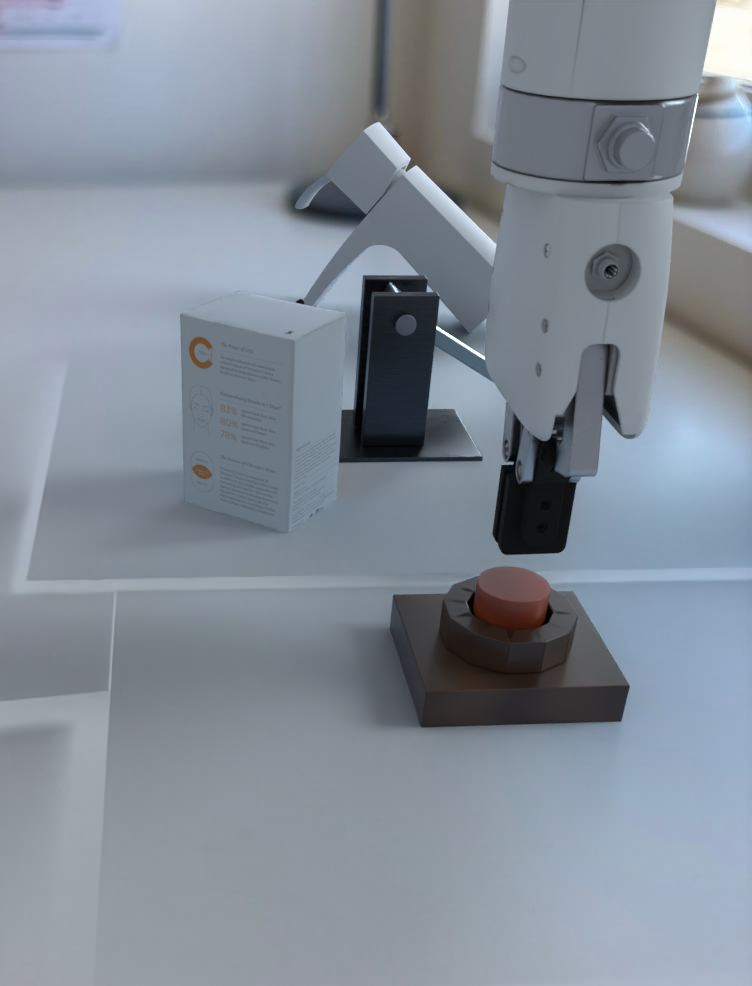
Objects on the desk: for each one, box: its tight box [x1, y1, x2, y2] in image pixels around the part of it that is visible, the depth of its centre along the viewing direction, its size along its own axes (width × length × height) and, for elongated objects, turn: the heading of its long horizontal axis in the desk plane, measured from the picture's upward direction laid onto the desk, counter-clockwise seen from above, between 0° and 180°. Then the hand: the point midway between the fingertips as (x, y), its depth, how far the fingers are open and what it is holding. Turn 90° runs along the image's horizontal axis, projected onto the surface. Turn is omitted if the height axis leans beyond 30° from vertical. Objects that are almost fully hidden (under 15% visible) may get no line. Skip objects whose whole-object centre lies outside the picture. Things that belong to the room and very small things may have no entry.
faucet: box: [294, 121, 497, 334], centre depth 107 cm, size 6×16×20 cm
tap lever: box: [370, 282, 494, 384], centre depth 79 cm, size 12×5×2 cm
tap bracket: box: [339, 274, 484, 464], centre depth 80 cm, size 12×9×12 cm
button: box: [473, 565, 552, 630], centre depth 56 cm, size 4×4×2 cm
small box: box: [179, 290, 348, 534], centre depth 70 cm, size 8×6×13 cm
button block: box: [389, 575, 631, 728], centre depth 58 cm, size 10×9×4 cm
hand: (527, 545), depth 55 cm, fingers closed
